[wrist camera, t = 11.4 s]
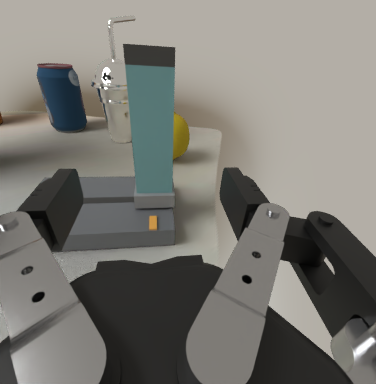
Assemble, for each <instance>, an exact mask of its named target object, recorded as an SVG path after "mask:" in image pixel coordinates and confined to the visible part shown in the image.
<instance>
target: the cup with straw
mask: <svg viewBox="0 0 376 384" xmlns="http://www.w3.org/2000/svg"><path fill="white" fill-rule="evenodd" d="M128 21H135V16H124V17H116V18H111V19H110V20H109V22H108V32H109V41H110V49H111V57H112V59H107V60H104V61H103V62H101V63H100V64H99V66H98V67H97V69H96V72H95V79H93V80H91V81H92V83H91V86H92V87H95V88H96V89H97V93H98V96H99V99H100V102H101V103H102V107H103V110H104V114H105V118H106V122H107V125H108V129H109V133H110V135H111V137H112V138H111V140H112V141H114V142H118V143H126V142H131V141H132V136H131V125H130V114H129V103H128V92H127V81H126V70H125V62H124V61H122V60H119V59H116V55H115V46H114V36H113V24H114V23H120V22H128Z"/></svg>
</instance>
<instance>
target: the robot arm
mask: <svg viewBox="0 0 376 384" xmlns="http://www.w3.org/2000/svg"><path fill="white" fill-rule="evenodd" d="M83 200H84V197H83V191H82V188H81V184H80V180H79V176H78V172H77V170H76V169H58V171H57V172H56V173H55V174H54V176H53V177H52V178H48V179H47V180H45V181H43V182H42V183H40V184H39V185H38V186H37V187H36V188H35V190H34V191H33V192H32V193H31V194H30V196H29V197H28V198H27V199H26V200H25V201H24V203H23V204H22V205H21V206H20V207H19V208H18V210H17V211H16V212H10V213H6V214H3V215H1V216H0V303H1V307H2V311H3V314H4V318H5V321H6V325H7V329H8V332H9V336H8V337H7V338H5V339H4V340H3V341H2V342H1V343H0V384H376V257H375V256H374V255H373V254H372V253H371V252H370V251H369V250H368V249H367V248H366V247H365V246H364V245H363V244H362V243H361V242H360V241H359V240H358V239H357V238H356V237H355V236H354V235H353V234H352V233H351V232H350V231H349V230H348V229H347V228H346V227H345V226H344V225H343V224H342V223H341V222H340V221H339V220H338V219H337V218H335V217H334V216H332V215H330V214H327V213H324V212H319V211H314V212H311V213H309V215H308V217H307V219H301V218H296V217H290V216H289V213H288V212H287V211H286V210H285V209H284V208H283V207H281V206H279V205H276V204H272V203H270V202H269V201H268V199H267V198H266V197H265V195H264V194H263V193H262V192H261V191H260V189H259V187H257V185H256V183H255V182H254V181H253V180H252V179H250V178H249V177H247V176H243V174H242V173H241V171H240V170H239V168H224V171H223V175H222V181H221V187H220V200H221V203H222V205H223V207H224V210H225V212H226V215H227V217H228V219H229V221H230V224H231V226H232V228H233V231H234V233H235V235H236V238H237V240H238V243H237V245H236V247H235V249H234V250H233V252H232V254H231V256H230V258H229V260H228V262H227V264H226V266H225V268H224V270H223V269H221V268H219V267H217V266H214V265H211V264H208V263H203V259H202V255H193V256H178V257H174V258H170V259H167V260H164V261H160V262H157V263H153V264H148V263H141V262H135V261H128V260H117V261H102V262H98V264H97V267H96V270H95V271H92V272H90V273H87V274H85V275H83V276H81V277H79V278H77V279H75V280H74V281H72V282H71V283H69V282H68V280H67V278H66V277H65V275H64V273H63V271H62V270H61V268H60V266H59V264H58V263H57V261H56V259H55V257H54V256H53V254H52V251H62V249H63V246H64V244H65V242H66V240H67V238H68V236H69V233H70V231H71V229H72V227H73V225H74V223H75V220H76V218H77V216H78V214H79V212H80V210H81V207H82V205H83ZM325 257H327V259H328V260H329V261H330V263H331V264H332V266H333V268H334V271H335V275H334V274H333V273H332V271H331V270H330V269H329V267H328V266H327V265H326V263H325V262H324V259H325ZM280 260H284V261H289V262H290V263H291V265H292V267H293V269H294V270H295V272H296V274H297V276H298V277H299V279H300V281H301V283H302V285H303V286H304V288H305V290H306V292H307V294H308V295H309V297H310V299H311V301H312V303H313V304H314V306H315V308H316V310H317V311H318V313H319V315H320V317H321V319H322V320H323V322H324V324H325V326H326V328H327V329H328V331H329V333H330V335H331V336H332V340H331V351H332V354H333V357H334V359H335V360H333V359H332V358H331V357H330V356H329V355H328V354H326V353H325V352H324V351H323V350H322V349H320V348H319V347H318V346H317V345H315V344H314V343H313V342H312V341H311V340H309V339H308V338H307V337H306V336H304V335H303V334H302V333H301V332H300V331H299V330H297V329H296V328H295V327H294V326H292V325H291V324H290V323H289V322H288V321H286V320H285V319H284V318H283V317H282V316H280V315H279V314H278V313H277V312H275V311H274V310H273V309H272V308H271V307H269V306H268V304H269V300H270V296H271V292H272V288H273V284H274V280H275V276H276V273H277V269H278V265H279V261H280Z"/></svg>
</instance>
